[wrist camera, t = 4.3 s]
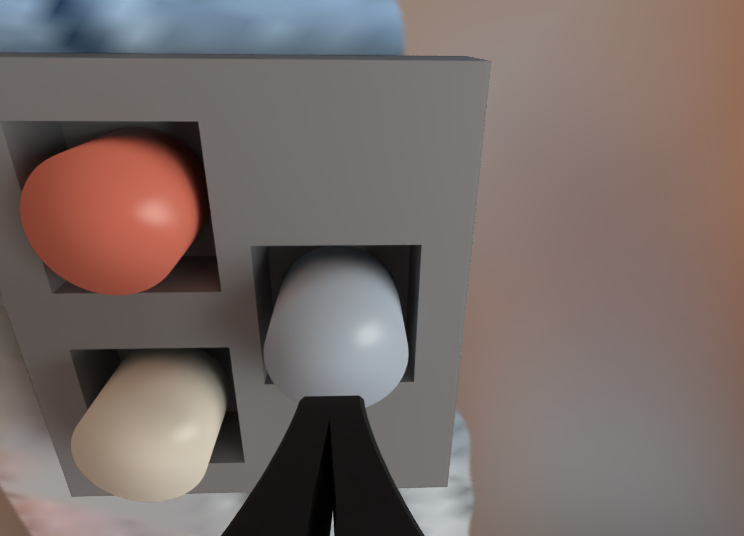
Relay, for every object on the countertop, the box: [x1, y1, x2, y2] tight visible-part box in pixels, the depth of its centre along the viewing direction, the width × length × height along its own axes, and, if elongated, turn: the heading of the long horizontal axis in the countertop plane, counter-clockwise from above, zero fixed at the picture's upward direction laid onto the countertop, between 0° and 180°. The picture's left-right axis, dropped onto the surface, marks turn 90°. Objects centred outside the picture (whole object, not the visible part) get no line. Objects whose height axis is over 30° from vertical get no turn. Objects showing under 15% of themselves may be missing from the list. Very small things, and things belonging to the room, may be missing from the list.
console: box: [0, 52, 491, 497], centre depth 17 cm, size 15×14×3 cm
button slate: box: [264, 245, 409, 408], centre depth 15 cm, size 4×4×3 cm
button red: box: [20, 127, 211, 295], centre depth 14 cm, size 4×4×3 cm
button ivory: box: [71, 348, 231, 502], centre depth 16 cm, size 4×4×3 cm
